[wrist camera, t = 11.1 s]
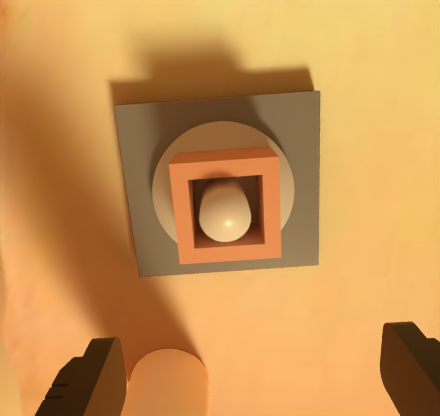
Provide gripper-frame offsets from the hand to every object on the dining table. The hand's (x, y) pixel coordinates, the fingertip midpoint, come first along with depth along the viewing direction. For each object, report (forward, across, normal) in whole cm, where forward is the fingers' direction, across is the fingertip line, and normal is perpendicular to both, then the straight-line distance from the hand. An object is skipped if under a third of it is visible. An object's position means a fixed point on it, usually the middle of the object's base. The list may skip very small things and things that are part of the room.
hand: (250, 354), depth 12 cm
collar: (+16, 0, 0) cm, 16 cm away
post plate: (+19, +1, 0) cm, 19 cm away
